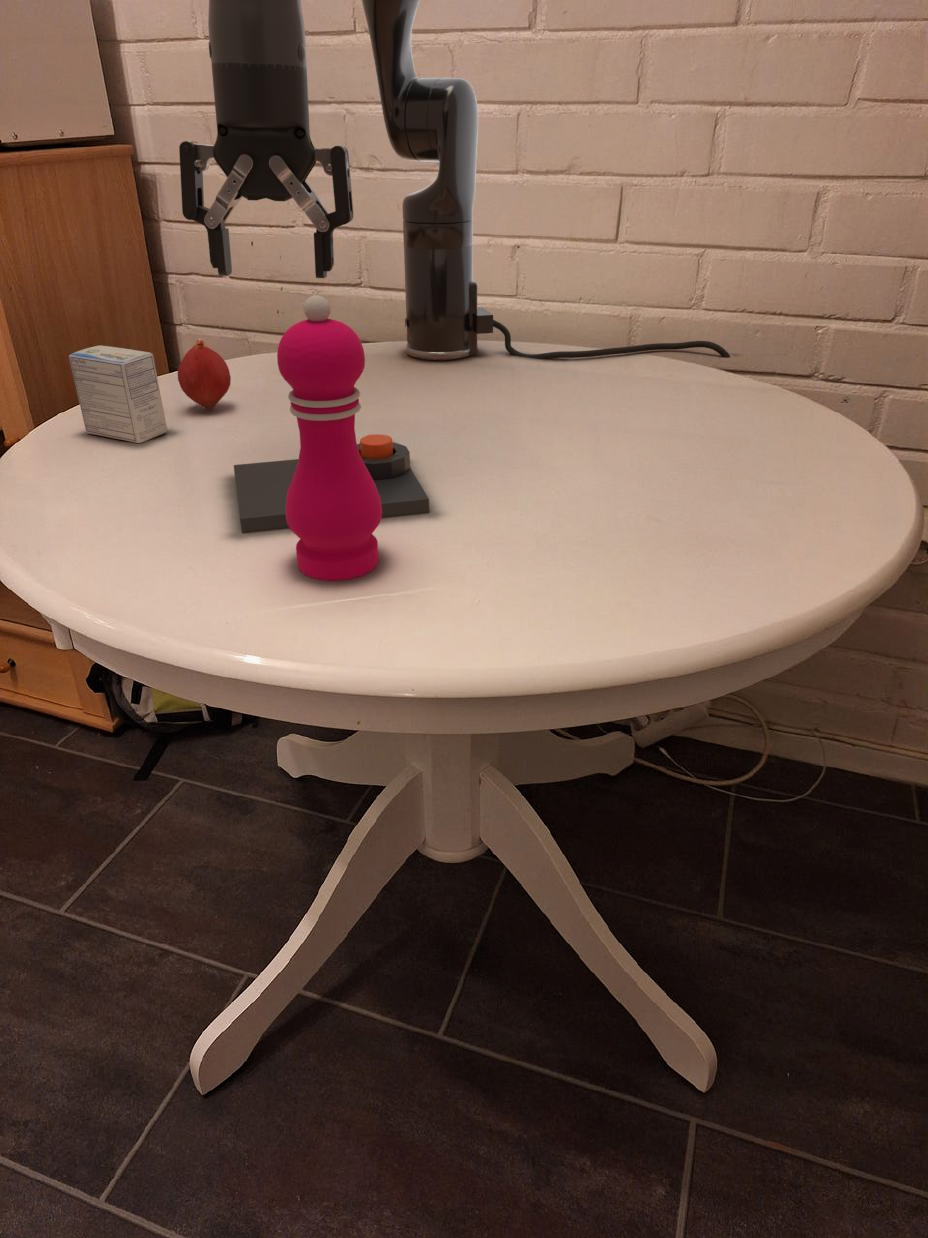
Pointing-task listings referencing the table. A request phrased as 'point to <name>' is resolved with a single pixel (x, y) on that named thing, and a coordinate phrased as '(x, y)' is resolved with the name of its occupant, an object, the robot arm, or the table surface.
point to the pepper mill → (328, 449)
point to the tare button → (376, 446)
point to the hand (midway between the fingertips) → (273, 275)
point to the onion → (204, 375)
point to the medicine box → (118, 393)
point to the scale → (270, 481)
